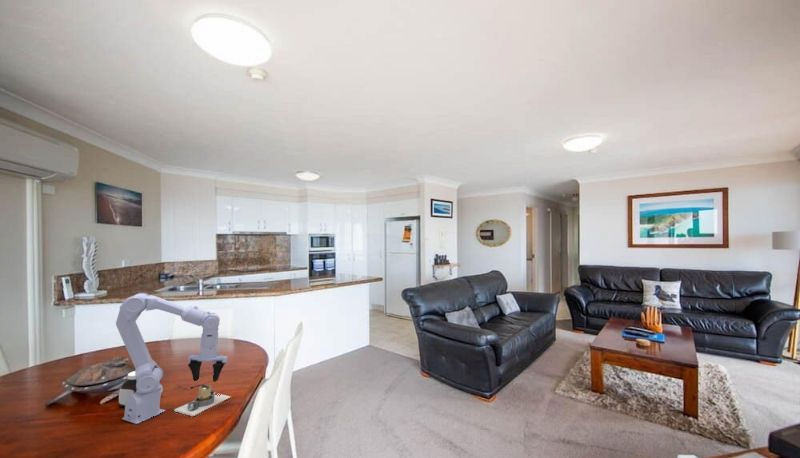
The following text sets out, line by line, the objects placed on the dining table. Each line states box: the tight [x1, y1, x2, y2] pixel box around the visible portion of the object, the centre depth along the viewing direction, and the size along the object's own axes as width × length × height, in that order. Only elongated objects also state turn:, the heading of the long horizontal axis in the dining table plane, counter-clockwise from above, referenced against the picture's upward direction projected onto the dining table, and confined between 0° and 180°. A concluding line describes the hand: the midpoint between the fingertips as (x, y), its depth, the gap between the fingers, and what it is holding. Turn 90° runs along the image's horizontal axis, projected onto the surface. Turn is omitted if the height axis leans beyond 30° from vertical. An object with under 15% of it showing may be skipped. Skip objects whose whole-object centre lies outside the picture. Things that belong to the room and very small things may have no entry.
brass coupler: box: [197, 383, 212, 402], centre depth 121 cm, size 4×4×7 cm
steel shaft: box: [187, 401, 199, 411], centre depth 115 cm, size 3×3×2 cm
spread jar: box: [118, 370, 164, 408], centre depth 123 cm, size 12×11×12 cm
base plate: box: [173, 392, 231, 416], centre depth 120 cm, size 16×10×3 cm, turn 161°
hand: (205, 380), depth 121 cm, fingers open, 7 cm apart
